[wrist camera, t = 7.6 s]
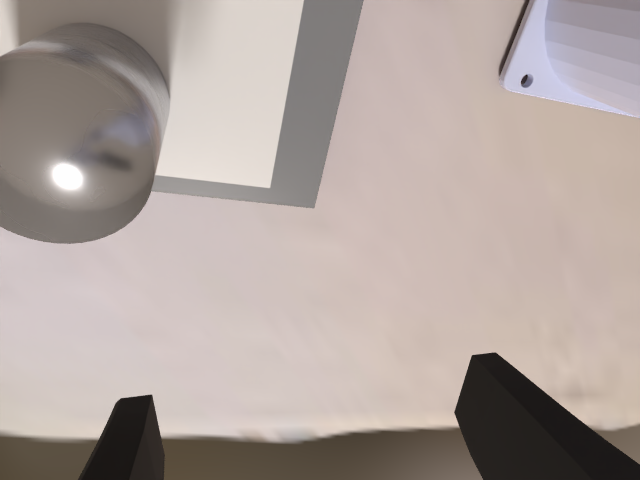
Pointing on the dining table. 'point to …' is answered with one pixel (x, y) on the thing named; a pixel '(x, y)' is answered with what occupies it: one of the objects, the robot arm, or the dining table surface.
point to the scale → (228, 85)
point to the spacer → (78, 133)
